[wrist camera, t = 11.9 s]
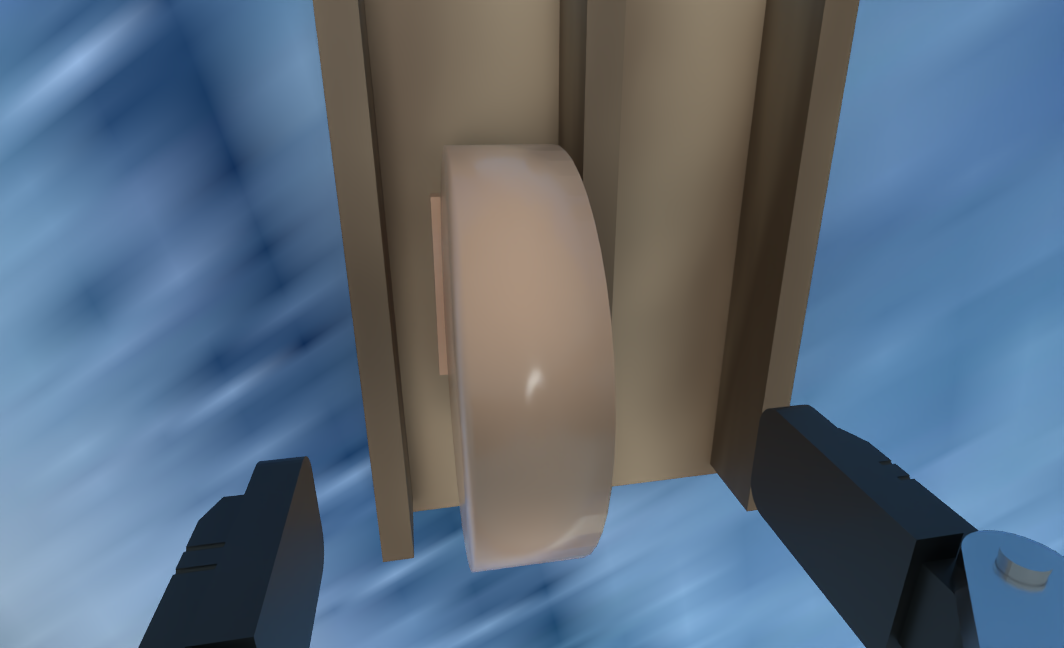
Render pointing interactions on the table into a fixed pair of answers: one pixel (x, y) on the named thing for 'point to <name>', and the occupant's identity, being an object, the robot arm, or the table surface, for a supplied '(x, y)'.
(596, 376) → the saucer
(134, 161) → the table surface
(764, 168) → the dish rack
